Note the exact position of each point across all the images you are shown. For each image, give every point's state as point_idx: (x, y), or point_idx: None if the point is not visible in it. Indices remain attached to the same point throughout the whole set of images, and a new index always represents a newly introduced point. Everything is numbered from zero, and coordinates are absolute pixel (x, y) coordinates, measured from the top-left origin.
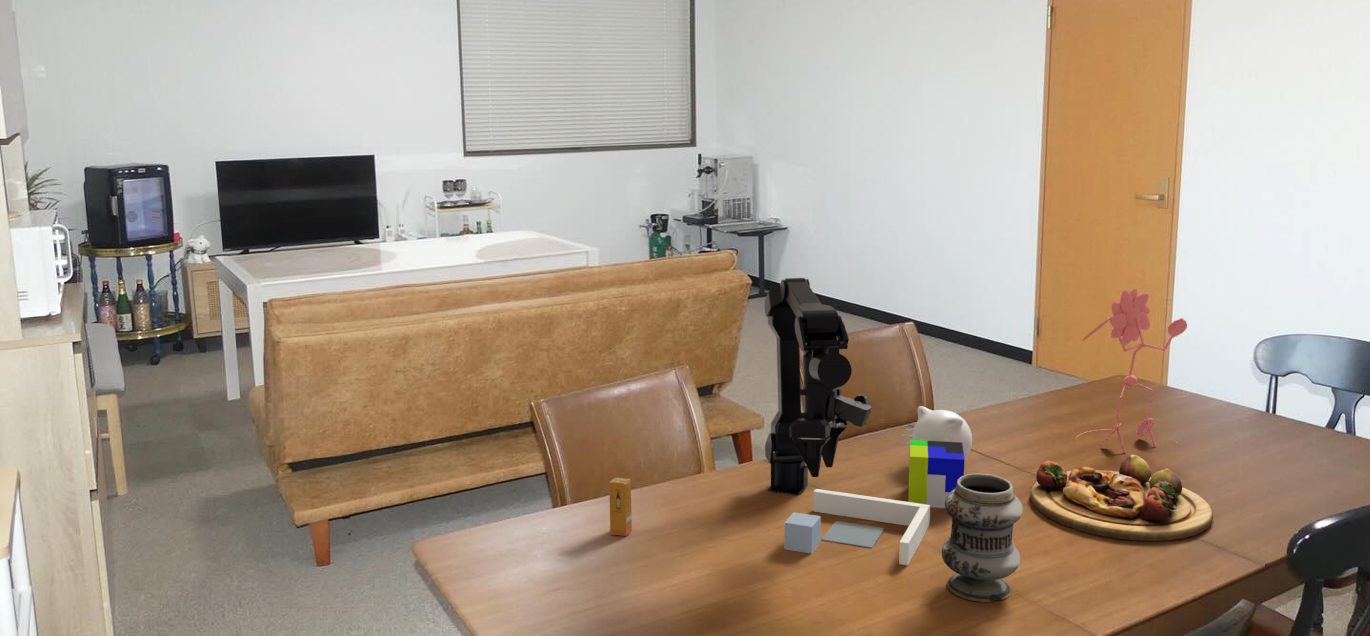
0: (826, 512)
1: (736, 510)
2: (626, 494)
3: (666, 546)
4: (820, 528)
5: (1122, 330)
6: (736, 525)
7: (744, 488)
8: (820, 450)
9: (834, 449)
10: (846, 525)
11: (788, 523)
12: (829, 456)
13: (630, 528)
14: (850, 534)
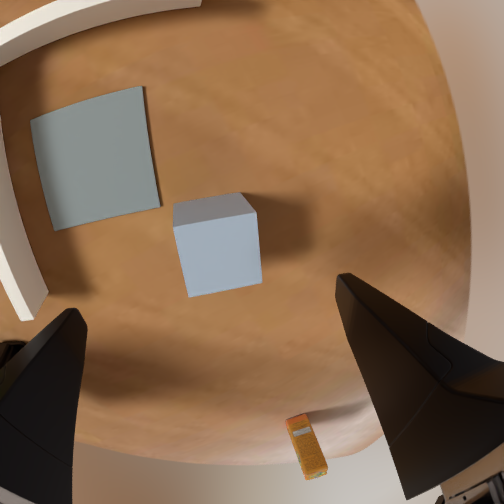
0: (37, 268)
1: (143, 386)
2: (319, 456)
3: (313, 378)
4: (173, 215)
5: None
6: (195, 362)
7: None
8: (472, 356)
9: (29, 367)
10: (61, 198)
11: (261, 273)
12: (62, 355)
13: (293, 421)
14: (98, 164)
